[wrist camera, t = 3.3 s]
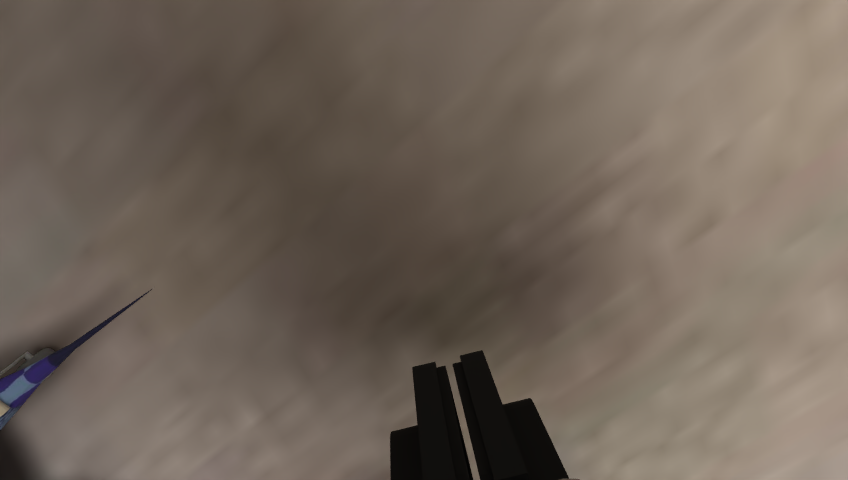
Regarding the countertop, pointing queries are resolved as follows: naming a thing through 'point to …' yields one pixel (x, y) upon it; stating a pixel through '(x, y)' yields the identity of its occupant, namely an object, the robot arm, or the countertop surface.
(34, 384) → the toy airplane
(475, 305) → the countertop surface
